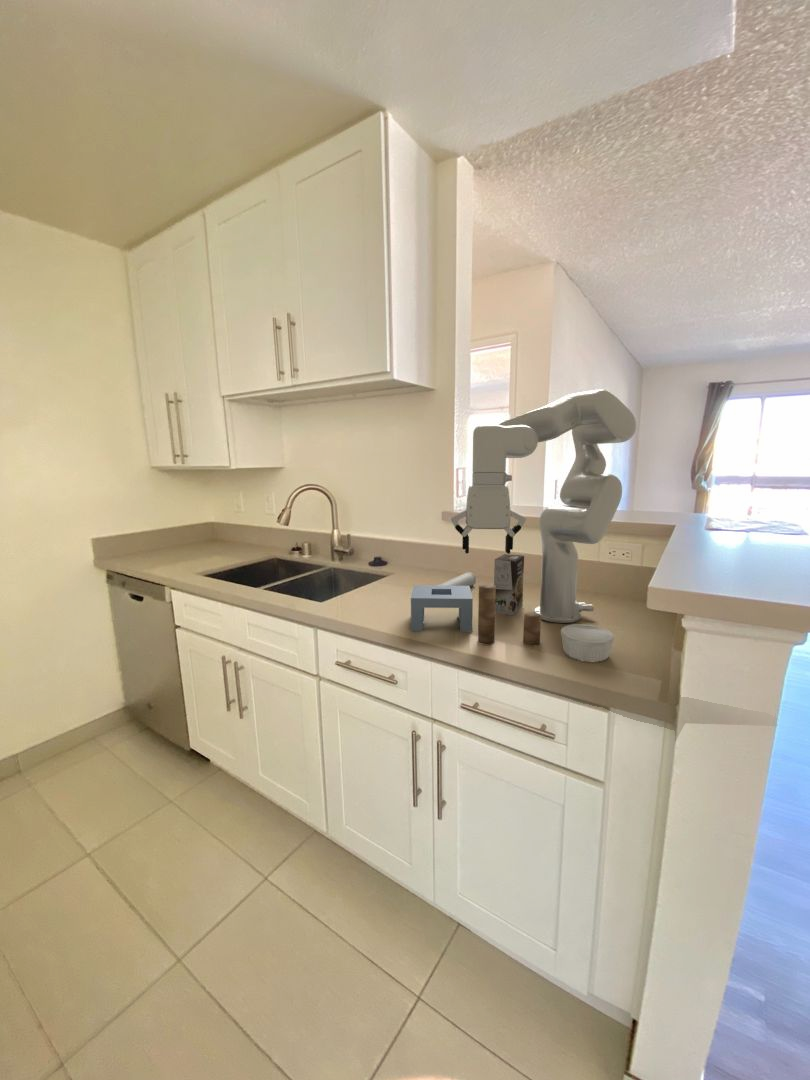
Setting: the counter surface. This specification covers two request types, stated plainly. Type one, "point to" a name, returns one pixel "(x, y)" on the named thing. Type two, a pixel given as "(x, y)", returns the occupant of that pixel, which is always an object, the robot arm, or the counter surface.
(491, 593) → the tall pin
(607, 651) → the ramekin
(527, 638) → the short pin
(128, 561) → the counter surface
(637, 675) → the counter surface
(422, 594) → the bridge
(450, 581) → the tube
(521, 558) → the coffee box
